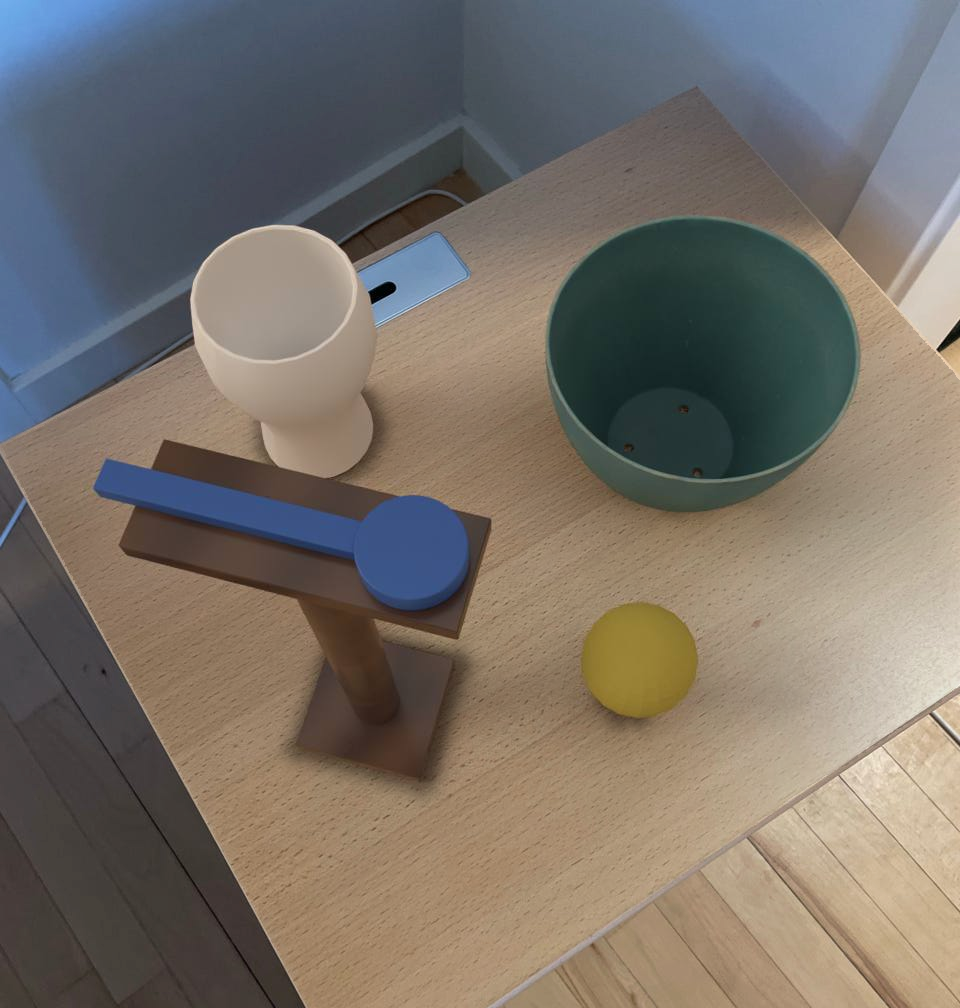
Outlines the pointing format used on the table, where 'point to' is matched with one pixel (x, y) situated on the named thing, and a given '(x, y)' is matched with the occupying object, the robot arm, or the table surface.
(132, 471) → the spoon
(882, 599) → the table surface
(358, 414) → the cup
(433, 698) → the spoon stand
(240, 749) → the table surface
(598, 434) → the plant pot
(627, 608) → the yellow ball
